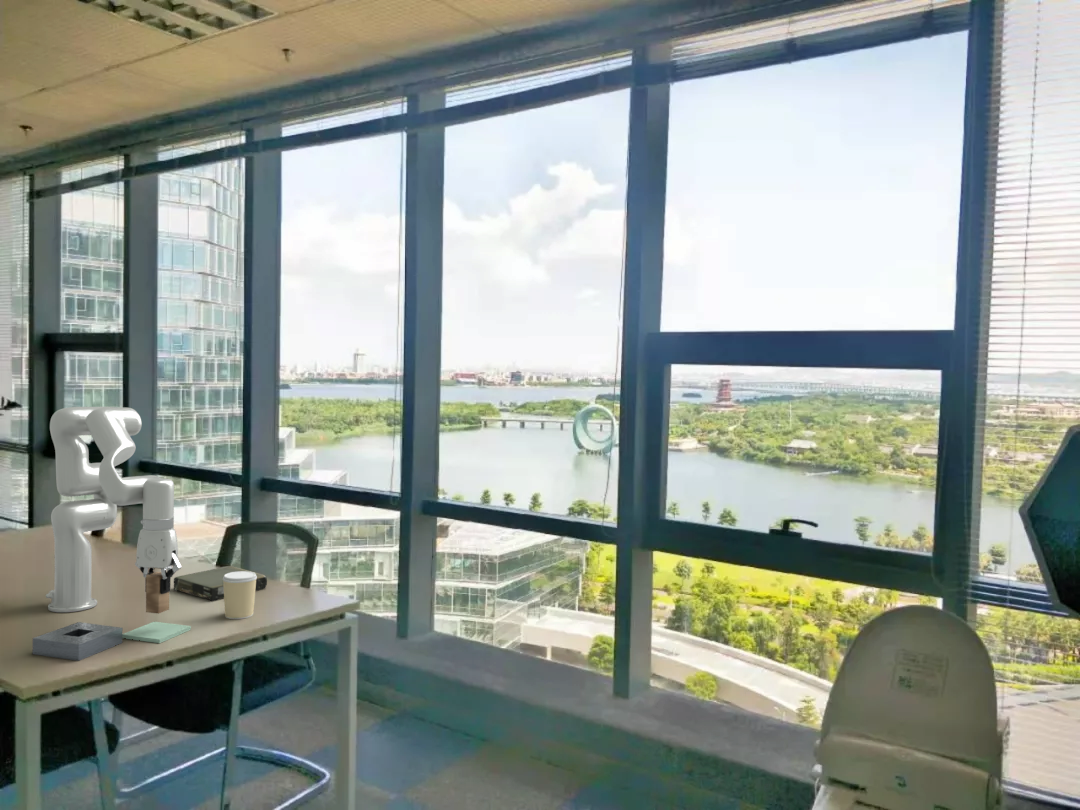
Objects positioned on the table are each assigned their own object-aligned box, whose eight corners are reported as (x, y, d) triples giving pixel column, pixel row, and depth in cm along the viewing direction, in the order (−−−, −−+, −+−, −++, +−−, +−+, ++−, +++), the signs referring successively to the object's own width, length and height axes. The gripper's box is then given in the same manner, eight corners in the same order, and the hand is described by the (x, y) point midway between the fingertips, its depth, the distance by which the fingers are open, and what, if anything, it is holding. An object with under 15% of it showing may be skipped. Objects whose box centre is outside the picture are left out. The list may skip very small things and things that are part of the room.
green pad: (121, 638, 213) (121, 634, 213) (154, 625, 224) (154, 621, 224) (159, 643, 210) (159, 639, 210) (190, 629, 221) (190, 626, 221)
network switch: (165, 593, 258) (165, 577, 258) (224, 578, 278) (225, 563, 278) (216, 604, 247) (216, 588, 247) (273, 588, 268) (274, 573, 268)
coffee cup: (260, 610, 240) (261, 571, 240) (250, 620, 231) (250, 579, 231) (228, 610, 240) (229, 570, 240) (217, 619, 231) (218, 578, 230)
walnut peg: (145, 612, 215) (146, 575, 215) (156, 608, 219) (156, 571, 219) (158, 613, 214) (158, 576, 214) (169, 609, 218) (169, 573, 218)
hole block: (32, 654, 199) (32, 638, 199) (78, 636, 213) (78, 622, 212) (78, 660, 195) (78, 644, 195) (122, 642, 209) (122, 627, 209)
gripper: (122, 524, 214) (121, 592, 215) (175, 529, 210) (174, 598, 211) (142, 520, 222) (142, 586, 222) (194, 524, 217) (193, 591, 218)
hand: (157, 591), depth 216 cm, fingers closed on walnut peg, 4 cm apart
